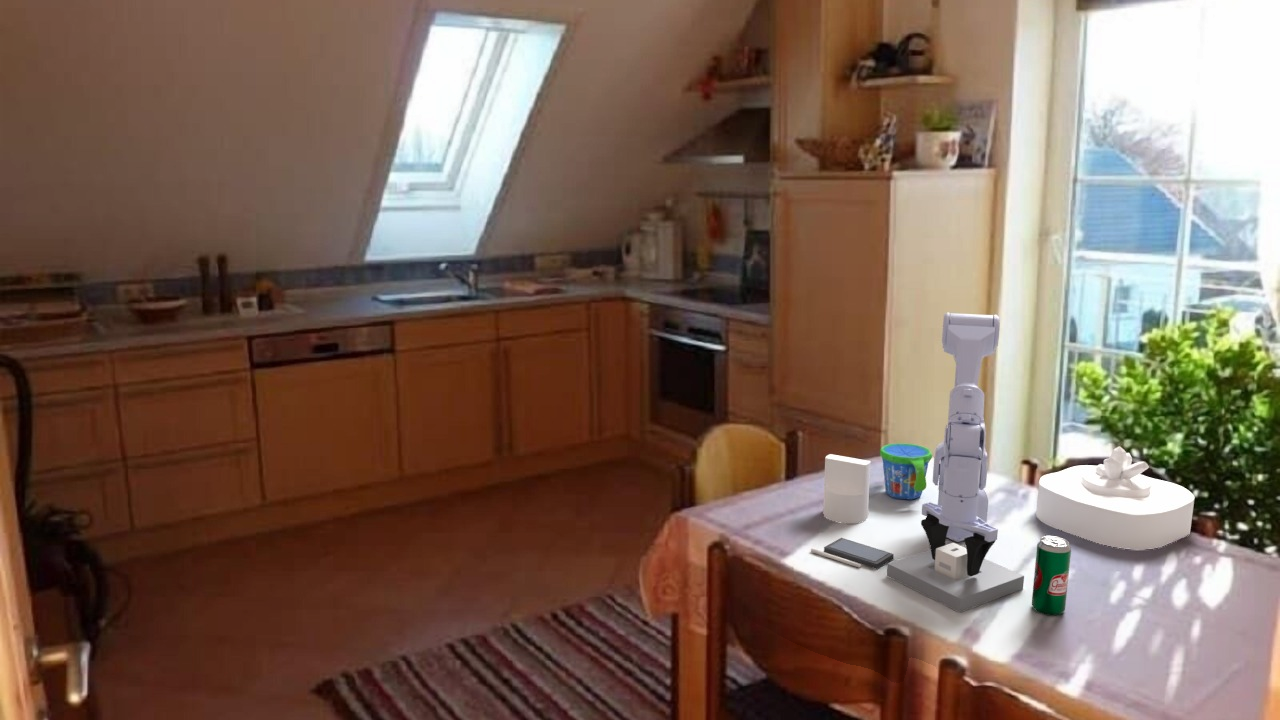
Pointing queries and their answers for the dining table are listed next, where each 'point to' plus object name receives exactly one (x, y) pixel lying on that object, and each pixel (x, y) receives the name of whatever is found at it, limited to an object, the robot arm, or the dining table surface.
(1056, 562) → the soda can
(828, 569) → the dining table surface
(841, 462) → the white rounded block
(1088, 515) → the tissue box
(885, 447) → the snack cup
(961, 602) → the socket plate
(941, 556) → the brick
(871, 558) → the tablet with stylus
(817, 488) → the dining table surface
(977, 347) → the robot arm
